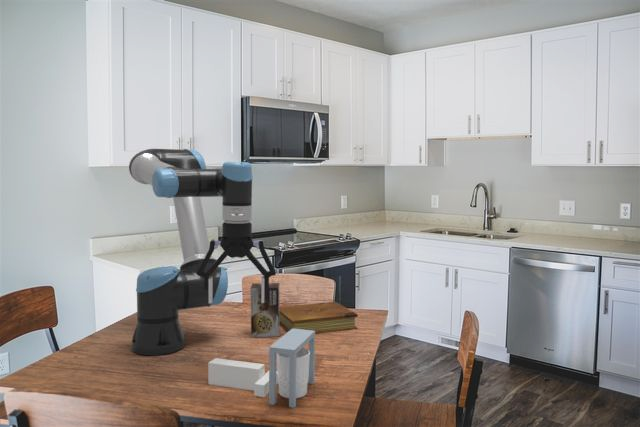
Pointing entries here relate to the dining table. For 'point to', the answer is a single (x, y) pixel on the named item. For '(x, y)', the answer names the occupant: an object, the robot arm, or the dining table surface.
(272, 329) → the food box
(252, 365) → the white l-shaped block
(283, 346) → the bridge
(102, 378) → the dining table surface
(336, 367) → the dining table surface
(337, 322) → the diary
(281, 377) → the white cup
